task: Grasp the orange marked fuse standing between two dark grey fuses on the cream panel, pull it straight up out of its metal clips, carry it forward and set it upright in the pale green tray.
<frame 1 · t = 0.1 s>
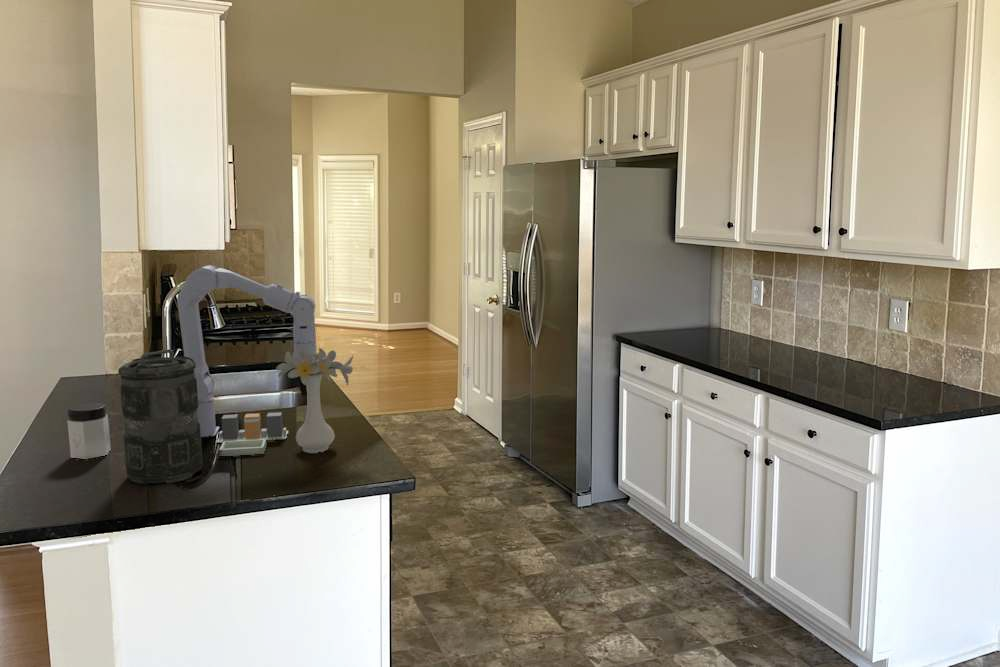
hand: (307, 392, 217), 10 cm above the worktop, tool pointing down, fingers open, 7 cm apart
tray: (243, 451, 199), on the worktop
flower vase: (318, 449, 201), on the worktop
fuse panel: (253, 438, 210), on the worktop
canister: (165, 475, 183), on the worktop
marked fuse: (253, 436, 210), point 1 cm above the worktop, touching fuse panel
jar: (91, 455, 197), on the worktop
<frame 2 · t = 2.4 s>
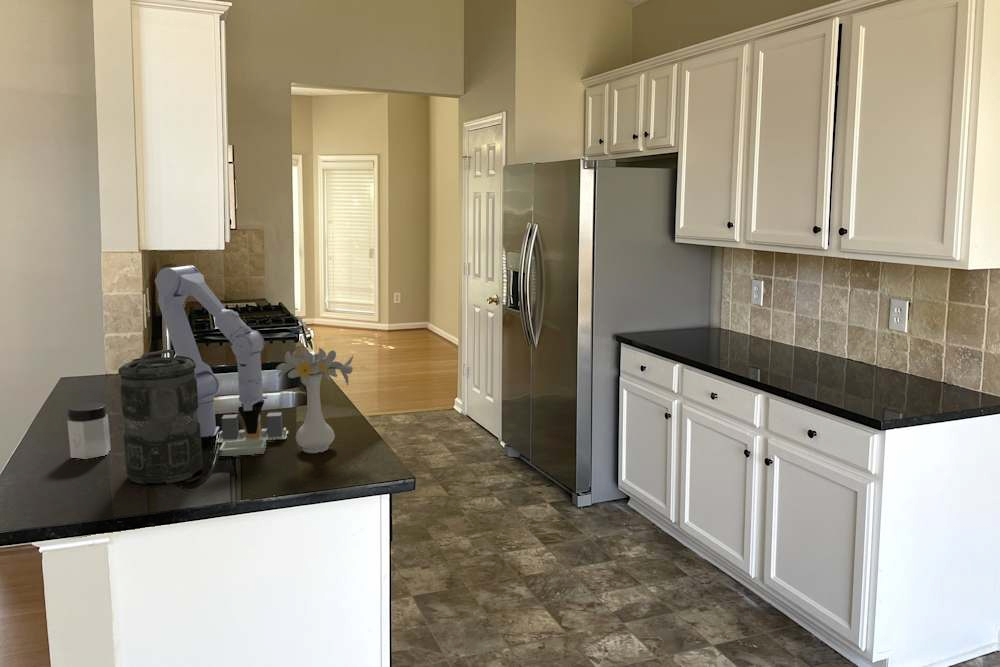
hand: (253, 431, 209), 2 cm above the worktop, tool pointing down, fingers closed on marked fuse, 3 cm apart
marked fuse: (253, 436, 210), point 1 cm above the worktop, touching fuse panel, gripper
everything else where it was.
when the fingers open (3 cm above the worktop, at t = 6.1 s): marked fuse stays where it is, resting on tray.
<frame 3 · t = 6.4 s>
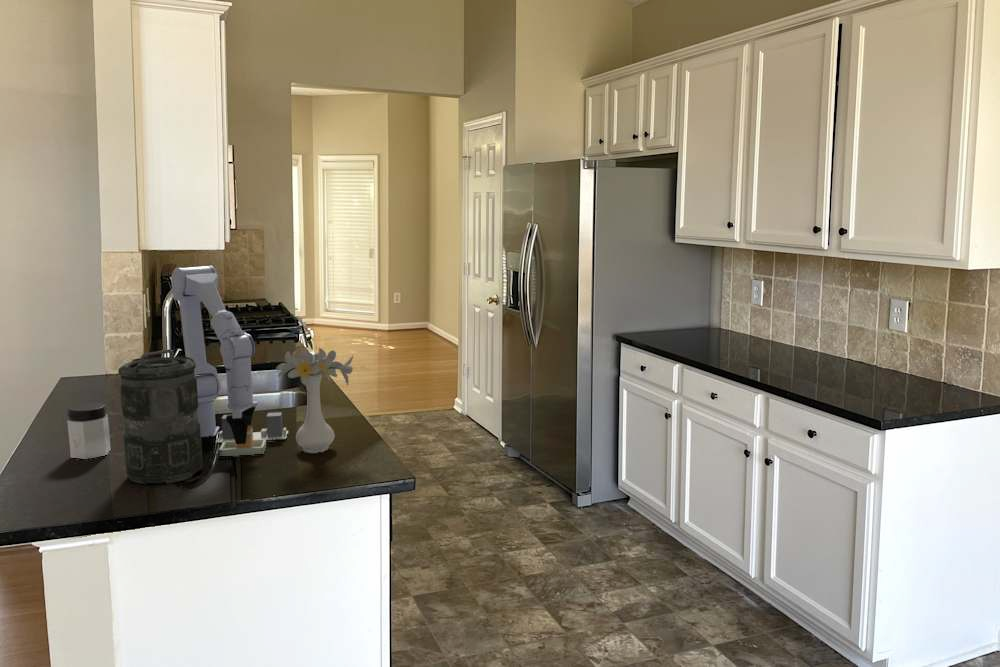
hand: (242, 439, 198), 3 cm above the worktop, tool pointing down, fingers open, 6 cm apart
marked fuse: (245, 449, 199), resting on tray
everything else where it was.
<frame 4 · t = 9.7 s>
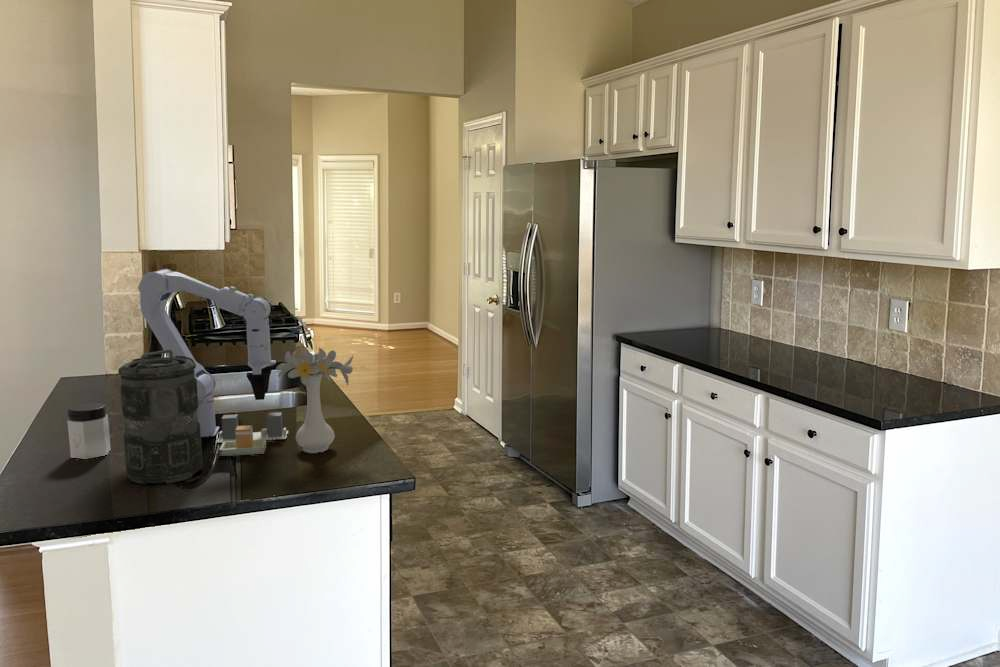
hand: (261, 395, 213), 10 cm above the worktop, tool pointing down, fingers open, 7 cm apart
nothing on the worktop moved.
at the end: marked fuse inside the target area on the tray (0.4 cm from its centre), point 0.5 cm above the tray's base; marked fuse tilted 0°; the gripper is holding nothing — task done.
